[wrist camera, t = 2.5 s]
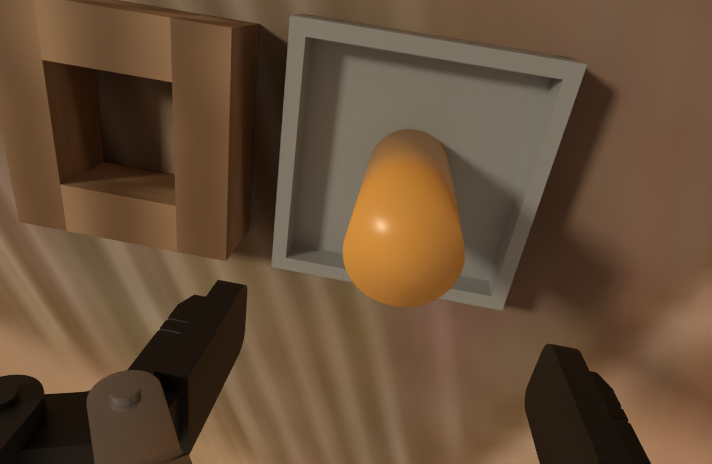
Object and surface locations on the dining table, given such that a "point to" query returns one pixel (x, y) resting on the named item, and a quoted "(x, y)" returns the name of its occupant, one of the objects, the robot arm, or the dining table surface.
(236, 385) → the dining table surface
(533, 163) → the tray
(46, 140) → the socket block
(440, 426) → the dining table surface
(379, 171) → the plug
